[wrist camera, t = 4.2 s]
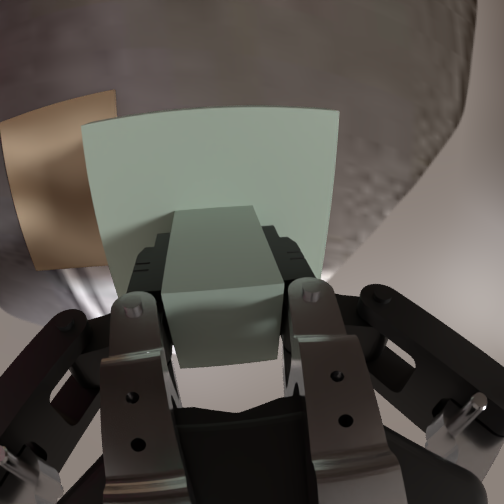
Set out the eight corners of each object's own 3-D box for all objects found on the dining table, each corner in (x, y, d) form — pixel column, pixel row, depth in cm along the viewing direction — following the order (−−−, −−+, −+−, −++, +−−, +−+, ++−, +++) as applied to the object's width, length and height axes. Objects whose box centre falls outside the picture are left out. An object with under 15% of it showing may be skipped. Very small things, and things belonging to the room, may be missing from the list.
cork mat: (2, 122, 14) (-1, 123, 14) (115, 89, 15) (113, 89, 15) (37, 268, 21) (36, 270, 20) (138, 260, 22) (137, 263, 22)
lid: (99, 119, 10) (3, 160, 4) (318, 106, 12) (424, 136, 6) (138, 310, 16) (121, 421, 10) (301, 296, 17) (345, 398, 11)
